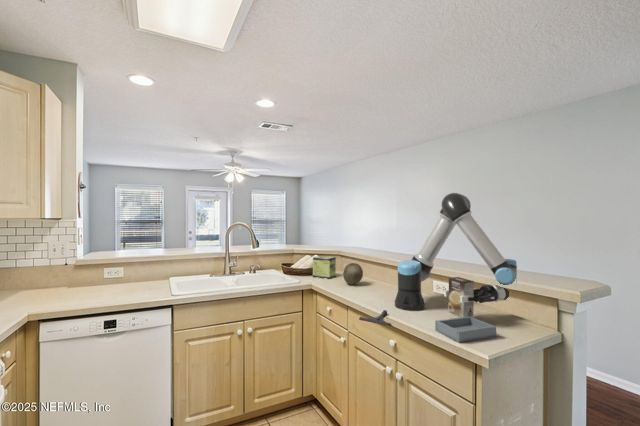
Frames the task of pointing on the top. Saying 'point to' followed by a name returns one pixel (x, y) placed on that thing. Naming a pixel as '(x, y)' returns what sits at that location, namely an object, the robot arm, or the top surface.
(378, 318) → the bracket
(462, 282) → the coffee box
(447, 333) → the tray
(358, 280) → the dark brown ball
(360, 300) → the top surface
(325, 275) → the protein box
